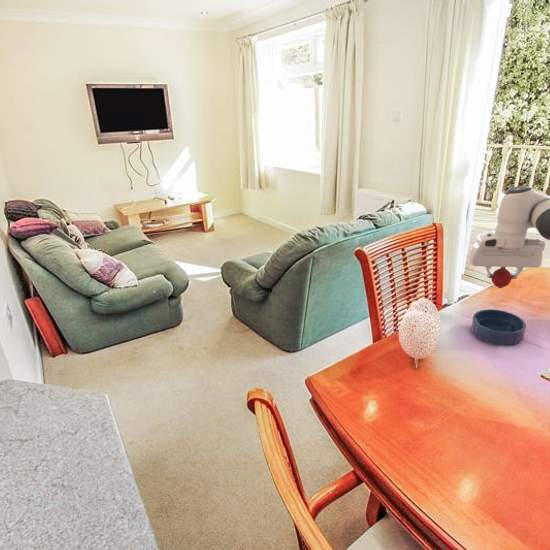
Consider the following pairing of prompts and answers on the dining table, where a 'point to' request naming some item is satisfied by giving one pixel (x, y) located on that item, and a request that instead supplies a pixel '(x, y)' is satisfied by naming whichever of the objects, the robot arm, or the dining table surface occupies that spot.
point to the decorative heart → (420, 329)
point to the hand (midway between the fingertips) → (501, 277)
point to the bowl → (498, 327)
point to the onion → (501, 277)
